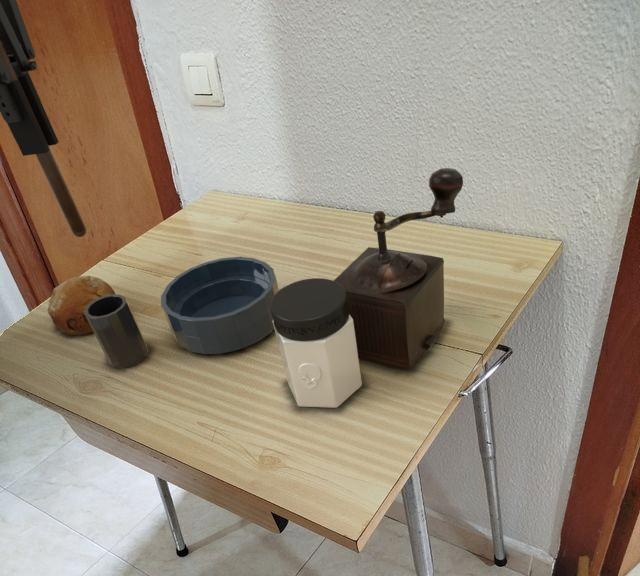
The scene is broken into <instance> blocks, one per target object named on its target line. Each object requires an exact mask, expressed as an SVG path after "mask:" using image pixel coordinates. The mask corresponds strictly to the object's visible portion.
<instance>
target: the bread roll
mask: <svg viewBox="0 0 640 576" xmlns="http://www.w3.org/2000/svg"><path fill="white" fill-rule="evenodd" d="M112 294H116V292H115V290H114V289H113V287H112V286H111V285H110V284H109V283H107V281H105V280H103V279H101V278H99V277H96V276H93V275H82V276H74V277H70V278H69V279H67V280H65V281H63V282H61V283H60V284H59V285H57V286H55V287H54V288H53V290H52V294H51V295H50V297H49V300H48V307H47V313H48V315H49V317H50V318H51V321H52V322H53V324H54V325H55V327H57V329H58V330H60V331H61V332H63V333H64V334H67V335H68V336H84V335H89V334H92V333H94V332H93V330H92V328H91V326H90V324H89V322H88V321H87V319H86V317H85V312H84V310H85V309H86V307H87V306H88V304H90V303H91V302H93V301H94V300H96V299H98V298H100V297H103V296H107V295H112Z"/></svg>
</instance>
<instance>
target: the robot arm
mask: <svg viewBox="0 0 640 576" xmlns="http://www.w3.org/2000/svg"><path fill="white" fill-rule="evenodd" d="M21 12H22V11H21V9H20V7H19V4H18V1H17V0H0V41H1V42H2V44H3V46H4V48H5V51H6V53H7V55H8V57H9V59H10V62H11V64H12V66H13V68H14V70H15V73H16V75H17V77H18V79H19V81H20V84H21V86H22V88H23V90H24V92H25V95H26V97H27V99H28V101H29V103H30V106H31V108H32V110H33V112H34V114H35V117H36V119H37V121H38V123H39V125H40V128H41V130H42V132H43V134H44V137H45V139H46V141H47V143H48V145H49V148H50V146H55V145H57V144H59V139H58V136H57V134H56V131H55V130H54V128H53V126H52V123H51V121H50V119H49V117H48V114H47V112H46V110H45V108H44V106H43V103H42V100H41V97H40V95H39V93H38V90H37V89H36V86H35V84H34V81H33V80H32V77H31V75H30V73H29V72H32V71H33V72H34V71H37V69H38V65H37V62H36V60H34V59H35V58H36V52H35V50H34V46H33V43H32V41H31V38H30V35H29V33H28V32H29V31H28V30H27V26H26V24H25V21H24V18H23V15H22V13H21ZM31 60H33V61H31ZM20 84H19V82H18V80H15V81H10V76H9V73H8V71H7V69H6V66H5V64H4V62H3V59H2V57H1V54H0V114H1V117H2V119H3V120H4V121H5V123H6V124H7V126H8V128H9V131H10V132H11V134H12V136H13V139H14V140H15V142H16V144H17V146H18V148H19V150H20V153H21V154H22V156H23V157H24V156H32V155H36V154H41V153H47V152H48V151H49V148H48V145H47V143H46V141H45V139H44V137H43V134H42V132H41V130H40V128H39V126H38V124H37V121H36V119H35V117H34V115H33V113H32V110H31V108H30V106H29V104H28V102H27V100H26V97H25V95H24V93H23V91H22V89H21V86H20Z"/></svg>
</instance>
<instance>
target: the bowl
mask: <svg viewBox="0 0 640 576" xmlns="http://www.w3.org/2000/svg"><path fill="white" fill-rule="evenodd" d="M279 290H280V289H279V285H278V281H277V276H276V273H275V270H274V267H272V266H270V264H268V263H267V262H266V261H263V260H261V259H258V258H254V257H246V256H232V257H221V258H217V259H213V260H210V261H205V262H202V263H200V264H198V265H195V266H193V267H190V268H188V269H186V270H185V271H182V272H181V273H180V274H179V275H176V276H175V277H174V278H173V279H172V280H171V281H170V282H169V283H168V284H167V285H166V286H165V288H164V290H163V292H162V294H161V295H160V306H161V309H162V312H163V314H164V316H165V319H166V321H167V323H168V326H169V329H170V331H171V334H172V337H173V339H174V340H175V341H176V343H177V344H178V345H179V346H180V347H181V348H184V349H186V350H188V351H189V352H191V353H198V354H203V355H214V354H227V353H232V352H236V351H239V350H242V349H245V348H247V347H251V346H252V345H253V344H255V343H258V342H260V341H261V340H263V339H264V338H265V337H267V336H268V335H269V334H271V333H272V332H273V331H275V329H274V325H273V318H272V314H271V310H270V303H271V300H272V298H273V297H274V295H275V294H276V293H277V292H278V291H279Z"/></svg>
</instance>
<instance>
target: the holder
mask: <svg viewBox="0 0 640 576" xmlns="http://www.w3.org/2000/svg"><path fill="white" fill-rule="evenodd" d="M84 312H85V317H86V319H87V321H88V322H89V324H90V326H91V328H92V330H93V332H92V333H93V334H94V336H95V338H96V340H97V342H98V344H99V346H100V348H101V350H102V352H103V354H104V355H105V358H106V360H107V361H108V363H109V364H110V366H111V367H113V368H116V369H127V368H131V367H133V366H135V365H138V364H140V363H141V362H142V361H143V360H144V359H146V357H147V356H148V354H149V348H148V345H147V342H146V339H145V338H144V335H143V333H142V331H141V329H140V326H139V324H138V322H137V320H136V317H135V315H134V313H133V311H132V308H131V306H130V304H129V302H128V299H127V298H126V297H125V296H124V295H122V294H117V293H115V294H112V295H107V296H103V297H100V298H98V299H96V300H94V301H93V302H91V303H90V304H88V306H87V307H86V309H85V310H84Z"/></svg>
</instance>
